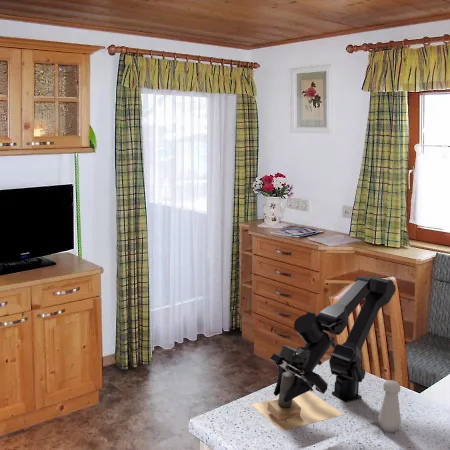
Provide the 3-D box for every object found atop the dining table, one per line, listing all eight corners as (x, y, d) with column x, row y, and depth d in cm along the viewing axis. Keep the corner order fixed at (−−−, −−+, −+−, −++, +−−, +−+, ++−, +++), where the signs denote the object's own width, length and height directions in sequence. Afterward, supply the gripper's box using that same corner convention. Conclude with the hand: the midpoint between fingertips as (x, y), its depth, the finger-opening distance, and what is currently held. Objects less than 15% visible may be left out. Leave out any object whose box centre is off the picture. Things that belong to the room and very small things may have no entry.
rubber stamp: (288, 404, 162) (293, 367, 158) (299, 415, 157) (305, 378, 154) (267, 409, 159) (272, 372, 155) (278, 421, 154) (283, 383, 151)
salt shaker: (401, 435, 151) (404, 388, 149) (378, 432, 152) (381, 385, 150) (399, 424, 157) (402, 378, 155) (377, 421, 158) (380, 376, 156)
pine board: (309, 395, 173) (309, 391, 172) (343, 419, 159) (343, 414, 158) (250, 409, 163) (250, 404, 163) (281, 436, 149) (281, 430, 149)
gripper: (276, 324, 163) (242, 369, 159) (321, 346, 147) (285, 396, 143) (297, 346, 168) (265, 390, 164) (342, 369, 153) (308, 418, 149)
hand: (279, 398), depth 155 cm, fingers closed on rubber stamp, 4 cm apart
